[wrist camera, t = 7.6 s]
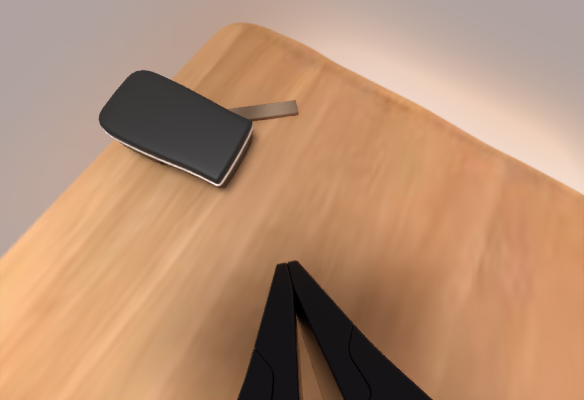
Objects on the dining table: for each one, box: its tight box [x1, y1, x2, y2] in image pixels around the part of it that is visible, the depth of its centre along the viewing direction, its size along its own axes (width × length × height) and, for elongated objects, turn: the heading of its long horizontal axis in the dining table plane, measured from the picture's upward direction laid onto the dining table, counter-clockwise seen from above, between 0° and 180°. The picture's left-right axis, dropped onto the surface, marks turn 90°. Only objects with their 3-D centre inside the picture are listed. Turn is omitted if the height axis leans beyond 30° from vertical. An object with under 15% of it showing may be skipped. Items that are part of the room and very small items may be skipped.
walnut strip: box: [228, 100, 298, 121], centre depth 23 cm, size 10×2×1 cm, turn 102°
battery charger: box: [99, 70, 254, 188], centre depth 21 cm, size 7×4×11 cm
